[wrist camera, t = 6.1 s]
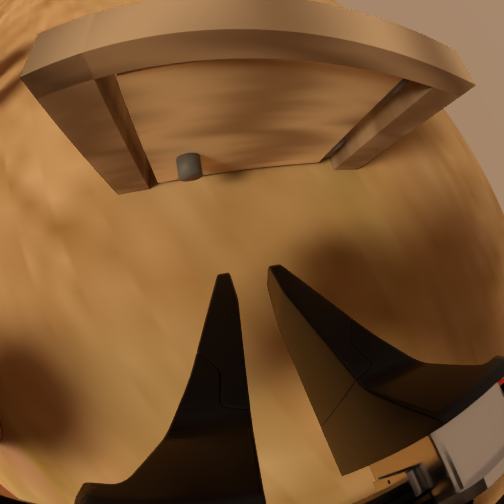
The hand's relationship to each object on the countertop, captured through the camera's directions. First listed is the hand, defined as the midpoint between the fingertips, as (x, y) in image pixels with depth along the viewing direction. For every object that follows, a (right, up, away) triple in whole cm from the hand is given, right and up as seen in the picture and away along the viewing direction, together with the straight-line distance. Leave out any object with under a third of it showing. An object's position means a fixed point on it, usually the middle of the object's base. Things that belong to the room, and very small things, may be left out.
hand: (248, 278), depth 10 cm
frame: (0, +7, +7) cm, 10 cm away
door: (0, +6, +7) cm, 9 cm away
